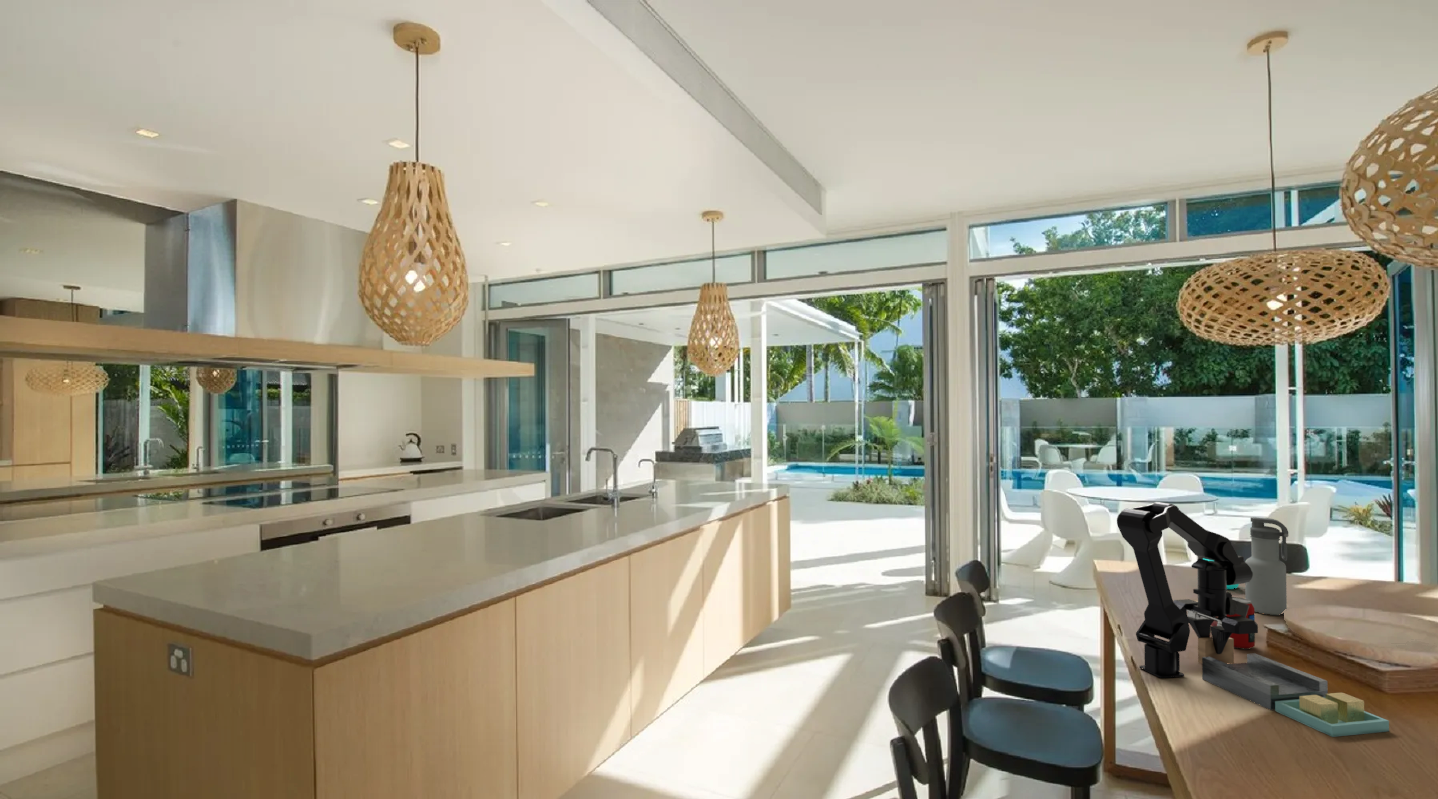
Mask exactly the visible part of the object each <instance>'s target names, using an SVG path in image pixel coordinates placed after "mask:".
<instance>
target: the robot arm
mask: <svg viewBox="0 0 1438 799" xmlns="http://www.w3.org/2000/svg"><path fill="white" fill-rule="evenodd" d="M1116 524H1117V527H1118V530H1119V532H1120V534H1121V536H1122V538H1123V539H1124V540H1125V541H1126V542H1127V544H1129V546H1131V547H1132V549H1133V553H1134V556H1135V557H1134V558H1135V559H1136V563H1137V564H1136V565H1137V567H1138V570H1139V574H1140V578H1141V581H1142V586H1143V588H1144V592H1145V595H1146V600H1147V603H1148V604H1147V607H1146V608H1145V610H1144V612H1143V617H1144V620H1143V622H1142V624H1141V625H1140V626H1139V628H1138V629H1137V631H1136V633H1135V636H1136V639H1137V642H1140V643H1143V646H1144V648H1143V649H1144V664H1143V665H1139V666H1138V667H1139V668H1140V669H1141V668H1143V669H1144V670H1143V669H1142V670H1143V671H1145V672H1147V673H1149V674H1151V675H1153V676H1155V677H1157V678H1160V679H1166V678H1179V677H1185V673H1183V672H1181V670H1180V668H1181V667H1180V665H1181V664H1180V658H1181V657H1180V655H1181V654H1180V652H1186V650H1187V645H1188V643H1189V642H1188V641H1189V637H1190V633H1191V629H1190V628H1192V630H1193V632H1194V633H1195V635H1196V637H1197V639H1198V638H1207V637H1212V638H1213V643H1214V648H1215V651H1216V654H1222V652H1223V649H1224V647H1225V645H1226V643H1227V641H1228V639H1229V637H1230V636H1231V634H1232V633H1234V634H1251V633H1255V634H1259V629H1258V628H1259V625H1258V623H1257V622H1256V620H1255V621H1254V620H1251V619H1248V618H1246V615H1247V612H1248V608H1249V605H1247V604H1244V603H1241V602H1239V601H1236V600H1233V599H1232V597H1233V594H1232V593H1231V592H1228V591H1227V590H1228V589H1227V585H1235V584H1239V585H1242V584H1245V583H1247V582H1249V581H1250V580H1251V579H1252V576H1253V572H1252V571H1251V568H1250V567H1249V565H1248V564H1247V563H1245V560H1244V556H1242V555H1238V554H1237V552H1236V550H1235V549H1234V546H1233V544H1232V541H1231V540H1230V538H1228V537H1226V536H1224V535H1221V534H1219V533H1216V532H1213V531H1209V530H1208V529H1205V528H1204V527H1203V526H1201V525H1199V523H1197V521H1195V520H1193V518H1191V517H1190V516H1188V515H1187V514H1185V513H1184V512H1183V511H1181V510H1180V509H1179V507H1178V506H1177V505H1175V504H1173V503H1168V502H1159V501H1155V502H1152V503H1150V504H1146V505H1141V506H1135V507H1132V508H1129V507H1128V508H1124V509H1123V510H1121V512H1120V513H1119V514H1118V515H1117V518H1116ZM1167 529H1170V530H1172V531H1173V532H1174V533H1176V534H1177V535H1178V536H1180V538H1182V539H1184V540H1185V542H1187V547H1188V549H1189V550H1190V551H1191V552H1192V553H1193V554H1194V555H1195V556H1197V557H1199V558H1197V560H1196V561H1195V562H1193V563H1192V564H1191V568H1192V569H1197V588H1193V589H1192V590H1193V594H1195V595H1197V600H1196V601H1195V600H1192V599H1188V598H1187V599H1186V598H1185V599H1184V598H1183V599H1174V600H1173V598H1172V593H1171V589H1170V586H1169V582H1168V578H1167V574H1166V572H1165V567H1164V564H1163V560H1162V556H1161V552H1160V549H1159V544H1160V541H1161V539H1162V537H1163V531H1165V530H1167ZM1203 558H1204V559H1208V560H1213V561H1208V560H1204V559H1203ZM1234 614H1238V615H1241V616H1234V617H1227V615H1234ZM1217 617H1218V618H1217ZM1213 621H1217V622H1218V623H1217V626H1211V624H1212V623H1213ZM1158 637H1159V638H1158ZM1161 638H1163V639H1161ZM1165 639H1166V640H1165ZM1167 640H1168V641H1167Z"/></svg>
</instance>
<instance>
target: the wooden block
mask: <svg viewBox="0 0 1438 799" xmlns="http://www.w3.org/2000/svg"><path fill="white" fill-rule="evenodd" d="M1234 651H1235V648H1234V639H1232V638H1230V637H1229V639H1228V641H1227V643H1226V645H1225V647H1224V649H1223V652H1222V654H1216V651H1215V648H1214V643H1213V638H1212V636H1210V637H1207V638H1198V637H1197V662H1199V663H1198V664H1200V665H1202V657H1212V658H1214V659H1217V660H1219V661H1221V662H1224V663H1226V664H1227V663H1234V664H1235V652H1234Z"/></svg>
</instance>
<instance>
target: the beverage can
mask: <svg viewBox="0 0 1438 799" xmlns="http://www.w3.org/2000/svg"><path fill="white" fill-rule="evenodd" d="M1232 599H1233V600H1236V601H1239V602H1241V603H1244V604H1247V605H1249V608H1248V612H1247V615H1246V618H1248V619H1251V620H1254V621H1255V622H1256V618H1255V616H1256V615H1255V614H1256V612H1254V607H1253V605H1252V603H1251V601H1250V600H1248V599H1245V597H1244V598H1243V597H1237V596H1232ZM1234 616H1241V615H1238V614H1234V615H1227V617H1234ZM1255 636H1256V633H1251V634H1234V633H1232V634H1231V636H1230V638H1232V639H1234V649H1238V648H1244V649H1243V650H1250V649H1251V648H1254V647H1255V644H1256V637H1255ZM1249 648H1250V649H1249Z"/></svg>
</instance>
